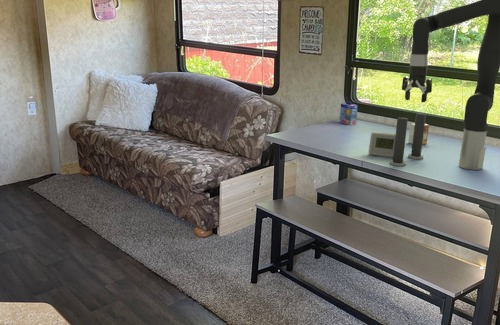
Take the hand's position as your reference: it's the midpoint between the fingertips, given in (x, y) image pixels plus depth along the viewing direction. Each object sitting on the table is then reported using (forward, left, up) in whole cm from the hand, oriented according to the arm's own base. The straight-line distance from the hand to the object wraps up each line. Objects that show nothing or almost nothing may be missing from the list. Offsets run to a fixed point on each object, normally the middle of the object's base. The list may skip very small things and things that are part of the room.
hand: (415, 101), depth 224 cm
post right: (0, -6, -28) cm, 28 cm away
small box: (+13, -33, -28) cm, 45 cm away
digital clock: (+11, +2, -28) cm, 30 cm away
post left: (0, +11, -28) cm, 30 cm away
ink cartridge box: (+67, -47, -28) cm, 87 cm away
